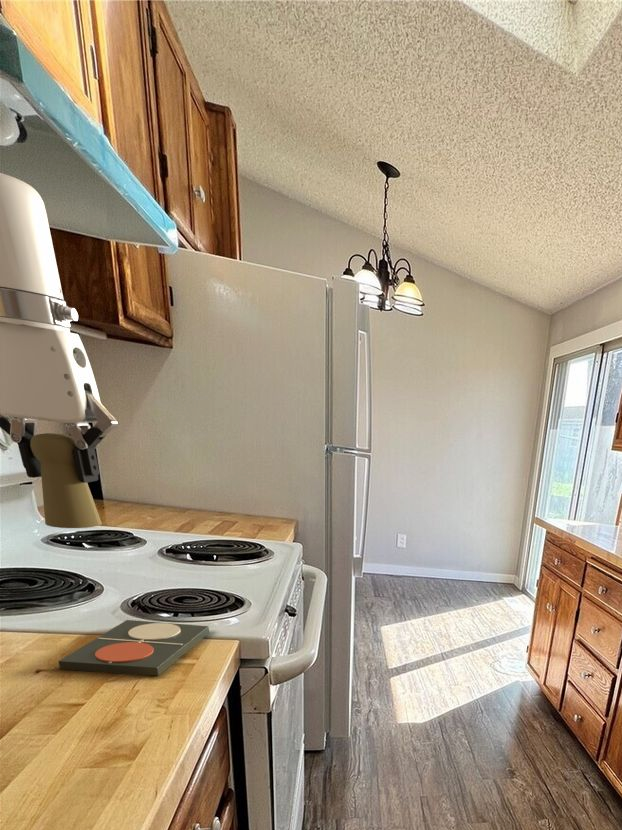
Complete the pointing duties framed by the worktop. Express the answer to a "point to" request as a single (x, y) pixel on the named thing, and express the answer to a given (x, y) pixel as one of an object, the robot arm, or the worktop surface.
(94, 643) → the board
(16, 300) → the robot arm
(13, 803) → the worktop surface
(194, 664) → the worktop surface
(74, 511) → the cork
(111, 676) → the worktop surface
